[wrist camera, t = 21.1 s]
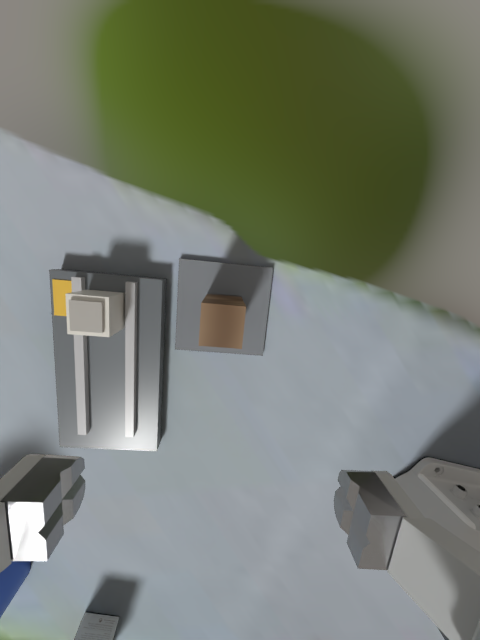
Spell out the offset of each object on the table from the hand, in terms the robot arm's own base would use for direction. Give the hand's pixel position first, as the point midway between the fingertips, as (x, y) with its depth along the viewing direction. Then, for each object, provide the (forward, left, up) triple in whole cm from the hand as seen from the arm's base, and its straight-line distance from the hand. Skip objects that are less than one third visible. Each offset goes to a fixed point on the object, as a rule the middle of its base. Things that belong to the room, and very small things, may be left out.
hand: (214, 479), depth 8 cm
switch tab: (+13, -1, -22) cm, 26 cm away
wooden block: (0, -1, -24) cm, 24 cm away
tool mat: (0, -1, -24) cm, 24 cm away
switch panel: (+13, +7, -24) cm, 28 cm away
